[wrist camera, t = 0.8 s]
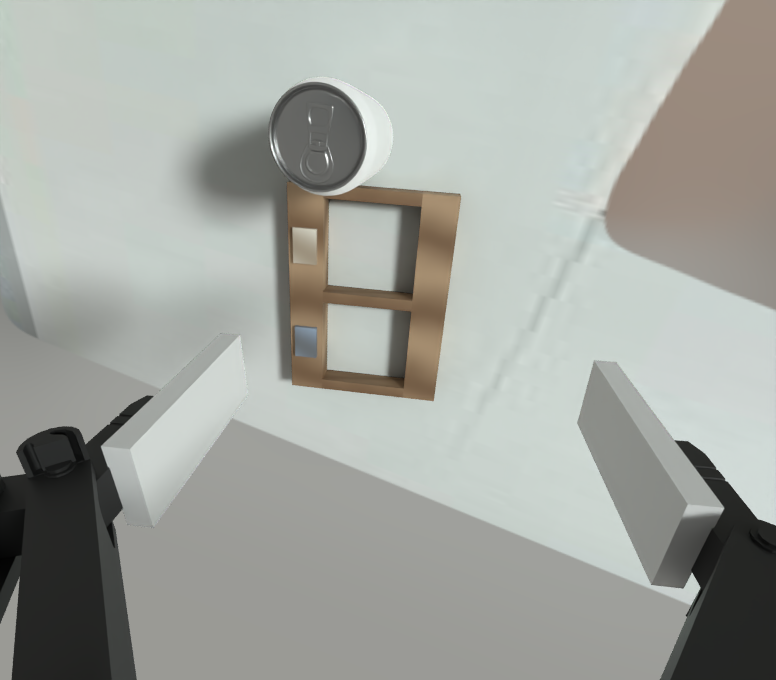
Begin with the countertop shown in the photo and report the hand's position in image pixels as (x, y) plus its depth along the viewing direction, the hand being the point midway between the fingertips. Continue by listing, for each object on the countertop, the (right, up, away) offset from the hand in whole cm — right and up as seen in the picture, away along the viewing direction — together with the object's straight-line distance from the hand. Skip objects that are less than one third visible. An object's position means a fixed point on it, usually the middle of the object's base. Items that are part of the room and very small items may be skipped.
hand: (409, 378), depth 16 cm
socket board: (-2, +6, +24) cm, 25 cm away
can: (-3, +18, +19) cm, 26 cm away
